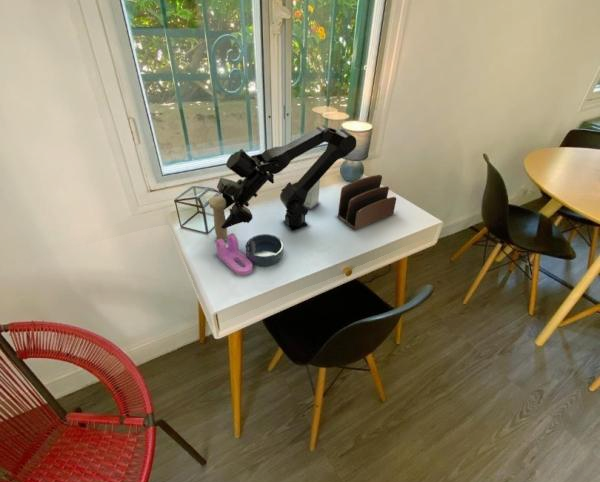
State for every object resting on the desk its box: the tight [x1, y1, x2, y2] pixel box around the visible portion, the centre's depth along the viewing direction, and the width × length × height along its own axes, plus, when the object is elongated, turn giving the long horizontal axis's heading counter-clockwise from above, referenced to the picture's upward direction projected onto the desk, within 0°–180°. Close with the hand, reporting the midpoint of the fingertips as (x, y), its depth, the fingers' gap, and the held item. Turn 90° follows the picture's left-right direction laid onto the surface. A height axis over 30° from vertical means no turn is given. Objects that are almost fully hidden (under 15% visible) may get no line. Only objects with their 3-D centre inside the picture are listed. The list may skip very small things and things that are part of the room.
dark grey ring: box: [245, 233, 284, 268], centre depth 104 cm, size 12×12×4 cm
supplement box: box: [304, 178, 321, 210], centre depth 128 cm, size 6×6×12 cm
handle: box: [208, 195, 228, 242], centre depth 107 cm, size 5×6×15 cm
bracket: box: [215, 232, 254, 276], centre depth 100 cm, size 13×6×7 cm, turn 42°
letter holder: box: [337, 174, 397, 231], centre depth 122 cm, size 10×20×14 cm, turn 123°
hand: (219, 220), depth 107 cm, fingers open, 9 cm apart
